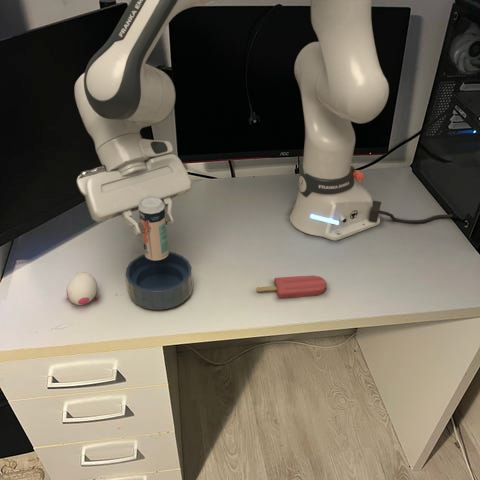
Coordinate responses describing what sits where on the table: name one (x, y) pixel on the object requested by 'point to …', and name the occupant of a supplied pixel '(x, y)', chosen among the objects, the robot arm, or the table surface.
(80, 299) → the stress ball
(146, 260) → the bowl
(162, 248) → the white capped supplement bottle
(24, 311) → the table surface
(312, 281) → the popsicle
